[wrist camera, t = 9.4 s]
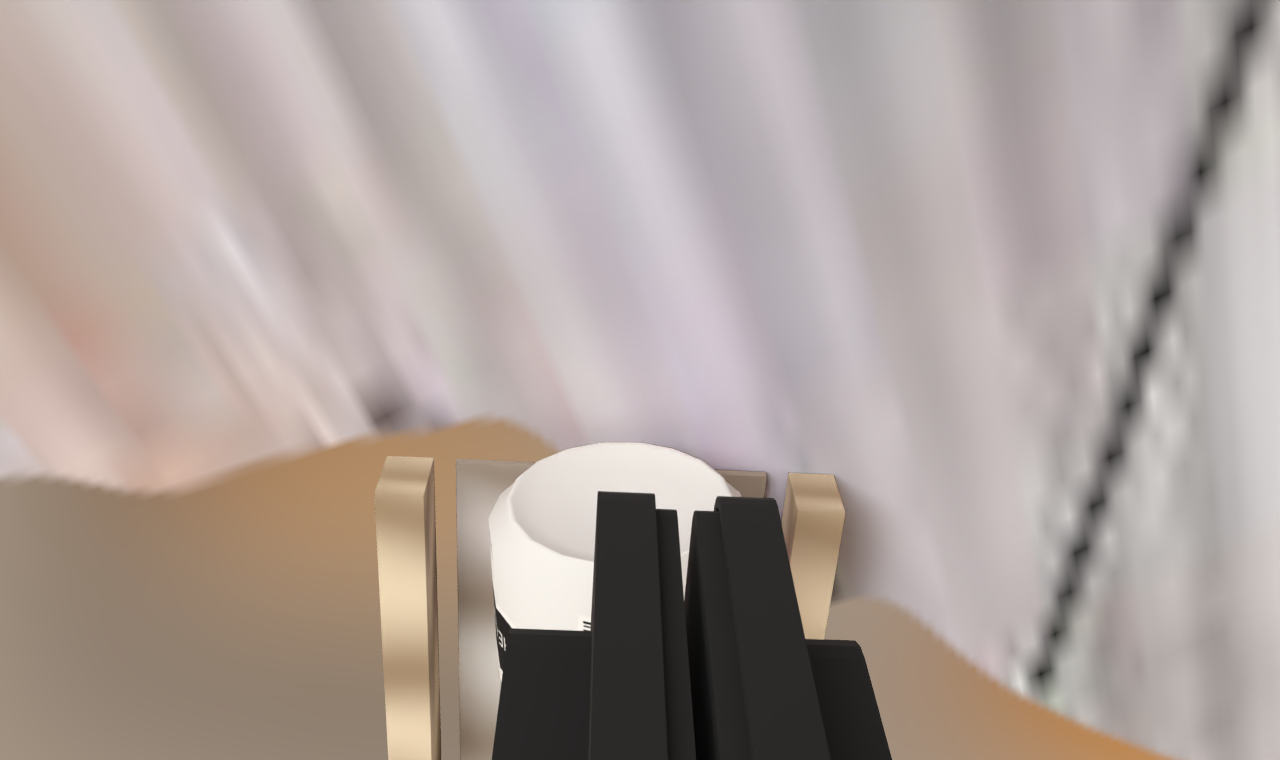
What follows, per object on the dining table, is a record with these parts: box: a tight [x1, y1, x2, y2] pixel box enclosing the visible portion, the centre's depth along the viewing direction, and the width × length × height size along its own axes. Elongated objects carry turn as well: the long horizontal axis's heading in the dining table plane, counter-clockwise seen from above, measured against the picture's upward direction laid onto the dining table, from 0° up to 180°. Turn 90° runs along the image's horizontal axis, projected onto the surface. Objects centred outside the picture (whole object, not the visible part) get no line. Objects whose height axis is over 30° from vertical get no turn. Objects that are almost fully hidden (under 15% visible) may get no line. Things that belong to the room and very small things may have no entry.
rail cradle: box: [375, 456, 845, 760], centre depth 43 cm, size 14×16×2 cm
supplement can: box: [488, 442, 742, 690], centre depth 39 cm, size 8×8×15 cm
